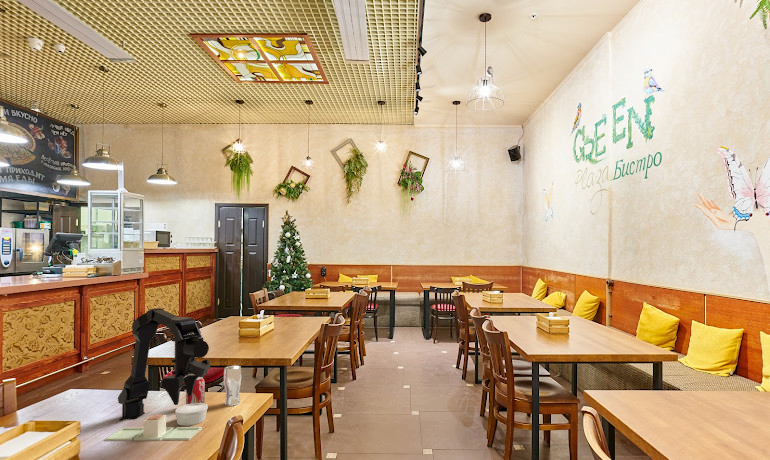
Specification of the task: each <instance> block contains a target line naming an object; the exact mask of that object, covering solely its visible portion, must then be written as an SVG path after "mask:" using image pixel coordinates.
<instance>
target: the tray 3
mask: <svg viewBox="0 0 770 460" xmlns="http://www.w3.org/2000/svg"><path fill="white" fill-rule="evenodd" d="M202 429H203V427H202V426H180V427H179V426H177V427H176V428H174V430H173V431H171V432H170V433H169V434H168V435H166V436H165V437H164V438H162V441H190V440H191V439H193V437H195V436H196V435H197V434H198V433H199V432H200V431H202Z"/></svg>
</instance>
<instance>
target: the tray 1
mask: <svg viewBox="0 0 770 460" xmlns="http://www.w3.org/2000/svg"><path fill="white" fill-rule="evenodd" d="M143 432H144V426H141V427H121V428H120V429H118V430H116V431H115V432H114V433H112V434H110V435H109V436H107V437H106V438H105V440H104V441H105V442H106V441H107V442H109V441H114V442H115V441H119V442H120V441H122V442H123V441H132V440H133V441H134V438H135V437H137V436H138V435H140V434H141V433H143Z"/></svg>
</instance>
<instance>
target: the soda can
mask: <svg viewBox="0 0 770 460" xmlns="http://www.w3.org/2000/svg"><path fill="white" fill-rule="evenodd" d="M205 388H206V386H205V379H204V376H203V377H198V378H197V380H196V382H195V385H194V389H193V392H192V395H191V396H188V394H187V390H186V389H185V405H187V404H192V403H204V404H205V399H206V397H205V392H206V389H205Z"/></svg>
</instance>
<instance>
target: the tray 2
mask: <svg viewBox="0 0 770 460" xmlns="http://www.w3.org/2000/svg"><path fill="white" fill-rule="evenodd" d="M174 429H175V427H174V426H173V427H172V426H170V427H169V426H168V427H167V426H166V432H164V433H163V434H162V435H160V436H159V437H158V438H143V433H144V432H143V433H141V434H140V435H138V436H137V437H135V438H134V439H133V441H161V440H163V438H164V437H165V436H167V435H168V434H169V433H170V432H172V431H173V430H174Z"/></svg>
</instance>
